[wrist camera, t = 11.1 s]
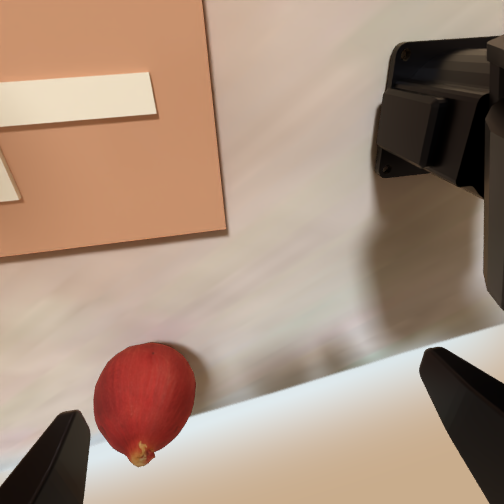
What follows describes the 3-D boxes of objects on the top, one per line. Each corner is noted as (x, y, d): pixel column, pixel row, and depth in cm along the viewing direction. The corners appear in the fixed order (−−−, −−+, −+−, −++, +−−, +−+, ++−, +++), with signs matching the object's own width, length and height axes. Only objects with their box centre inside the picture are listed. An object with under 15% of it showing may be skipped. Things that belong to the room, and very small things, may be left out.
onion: (172, 382, 26) (168, 502, 19) (95, 364, 23) (58, 493, 17) (208, 329, 23) (216, 443, 17) (125, 304, 21) (98, 424, 15)
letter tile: (186, -132, 12) (186, -150, 11) (224, 221, 19) (226, 231, 18) (-270, -131, 10) (-324, -151, 9) (-40, 253, 18) (-54, 266, 17)
